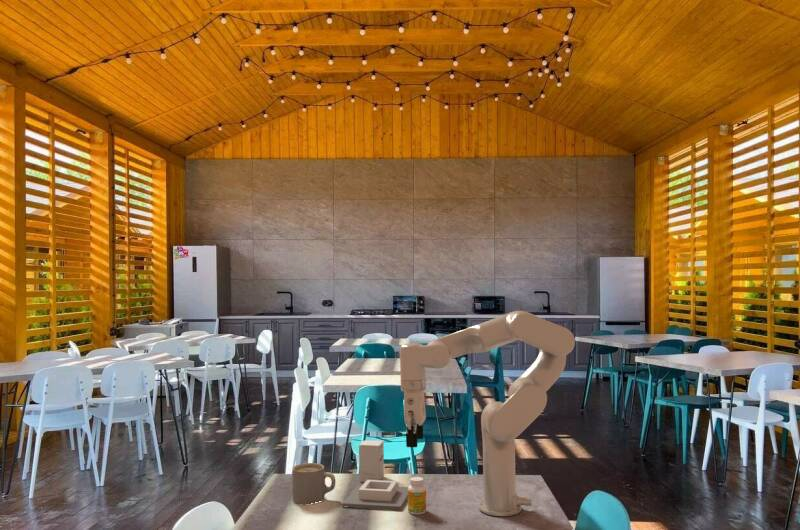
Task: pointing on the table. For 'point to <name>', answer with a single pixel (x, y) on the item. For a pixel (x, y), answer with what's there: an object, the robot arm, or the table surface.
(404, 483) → the table surface
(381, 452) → the supplement box
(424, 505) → the supplement bottle
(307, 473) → the coffee mug
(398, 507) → the collar board
